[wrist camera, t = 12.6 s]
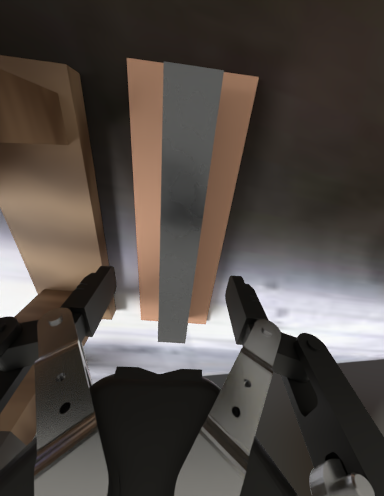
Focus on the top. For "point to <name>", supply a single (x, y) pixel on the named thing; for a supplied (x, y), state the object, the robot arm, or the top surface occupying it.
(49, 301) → the rack
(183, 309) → the rail
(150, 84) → the mat
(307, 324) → the top surface
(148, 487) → the robot arm
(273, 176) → the top surface
